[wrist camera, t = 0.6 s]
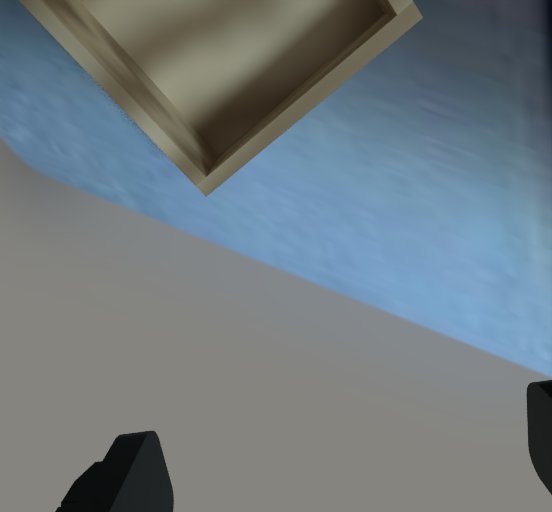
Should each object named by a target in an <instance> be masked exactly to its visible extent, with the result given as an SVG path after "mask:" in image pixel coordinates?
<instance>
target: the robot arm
mask: <svg viewBox="0 0 552 512" xmlns="http://www.w3.org/2000/svg"><path fill="white" fill-rule="evenodd" d="M527 418H528V446H529V453H530V457H531V460H532V463H533V465H534V468H535V470H536V472H537V474H538V476H539V478H540V479H541V481H542V482H543V484H544V485H545V486H546V488H547V489H548V490H549V492H550V493H551V494H552V380H548V381H541V382H532V383H530V384H529V385H528V387H527ZM173 499H174V498H173V489H172V485H171V481H170V477H169V474H168V470H167V467H166V463H165V459H164V456H163V452H162V448H161V445H160V441H159V438H158V436H157V434H156V432H154V431H145V432H138V433H130V434H123V435H119V436H118V437H117V438H116V439H115V441H114V442H113V444H112V446H111V447H110V449H109V451H108V453H107V454H106V456H105V458H104V459H103V461H102V462H95V463H94V464H93V465H92V466H91V467H90V468H88V469H87V470H86V471H85V472H84V473H83V474H82V475H81V476H80V477H79V478H78V479H77V480H76V481H75V482H74V483H73V485H72V486H71V488H70V490H69V491H68V493H67V494H66V496H65V497H64V499H63V501H62V502H61V507H58V508H57V510H56V512H173V504H174V503H173V502H174V500H173Z"/></svg>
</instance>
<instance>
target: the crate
mask: <svg viewBox="0 0 552 512" xmlns="http://www.w3.org/2000/svg"><path fill="white" fill-rule="evenodd" d="M19 1H20V2H21V3H22V4H23V5H24V7H25V8H26V9H27V10H28V11H29V12H30V13H31V14H32V15H33V16H34V17H35V18H36V19H37V20H38V21H39V22H40V23H41V24H42V25H43V26H44V28H45V29H46V30H47V31H48V32H49V33H50V34H51V35H52V36H53V37H54V38H55V39H56V40H57V41H58V42H59V43H60V44H61V45H62V46H63V47H64V48H65V50H66V51H67V52H68V53H69V54H70V55H71V56H72V57H73V58H74V59H75V60H76V61H77V62H78V63H79V64H80V65H81V66H82V67H83V68H84V69H85V70H86V72H87V73H88V74H89V75H90V76H91V77H92V78H93V79H94V80H95V81H96V82H97V83H98V84H99V85H100V86H101V87H102V88H103V89H104V90H105V91H106V93H107V94H108V95H109V96H110V97H111V98H112V99H113V100H114V101H115V102H116V103H117V104H118V105H119V106H120V107H121V108H122V109H123V110H124V111H125V112H126V113H127V115H128V116H129V117H130V118H131V119H132V120H133V121H134V122H135V123H136V124H137V125H138V126H139V127H140V128H141V129H142V130H143V131H144V132H145V133H146V134H147V135H148V137H149V138H150V139H151V140H152V141H153V142H154V143H155V144H156V145H157V146H158V147H159V148H160V149H161V150H162V151H163V152H164V153H165V154H166V155H167V156H168V158H169V159H170V160H171V161H172V162H173V163H174V164H175V165H176V166H177V167H178V168H179V169H180V170H181V171H182V172H183V173H184V174H185V175H186V176H187V177H188V178H189V180H190V181H191V182H192V183H193V184H194V185H195V186H196V187H197V188H198V189H199V190H200V191H201V192H202V193H203V194H204V195H205V196H207V195H209V194H210V193H211V192H212V191H214V190H215V189H216V188H217V187H218V186H220V185H221V184H222V183H223V182H224V181H226V180H227V179H228V178H229V177H230V176H232V175H233V174H234V173H235V172H237V171H238V170H239V169H240V168H241V167H243V166H244V165H245V164H246V163H247V162H249V161H250V160H251V159H252V158H254V157H255V156H256V155H257V154H258V153H260V152H261V151H262V150H263V149H264V148H266V147H267V146H268V145H269V144H270V143H272V142H273V141H274V140H275V139H277V138H278V137H279V136H280V135H281V134H283V133H284V132H285V131H286V130H287V129H289V128H290V127H291V126H292V125H293V124H295V123H296V122H297V121H298V120H300V119H301V118H302V117H303V116H304V115H306V114H307V113H308V112H309V111H310V110H312V109H313V108H314V107H315V106H316V105H318V104H319V103H320V102H321V101H323V100H324V99H325V98H326V97H327V96H329V95H330V94H331V93H332V92H333V91H335V90H336V89H337V88H338V87H340V86H341V85H342V84H343V83H344V82H346V81H347V80H348V79H349V78H350V77H352V76H353V75H354V74H355V73H356V72H358V71H359V70H360V69H361V68H363V67H364V66H365V65H366V64H367V63H369V62H370V61H371V60H372V59H373V58H375V57H376V56H377V55H378V54H379V53H381V52H382V51H383V50H384V49H386V48H387V47H388V46H389V45H390V44H392V43H393V42H394V41H395V40H396V39H398V38H399V37H400V36H401V35H403V34H404V33H405V32H406V31H407V30H409V29H410V28H411V27H412V26H413V25H415V24H416V23H417V22H418V21H419V20H421V19H422V18H423V17H422V15H421V14H420V12H419V10H418V9H417V7H416V5H415V4H414V2H413V0H19Z"/></svg>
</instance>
